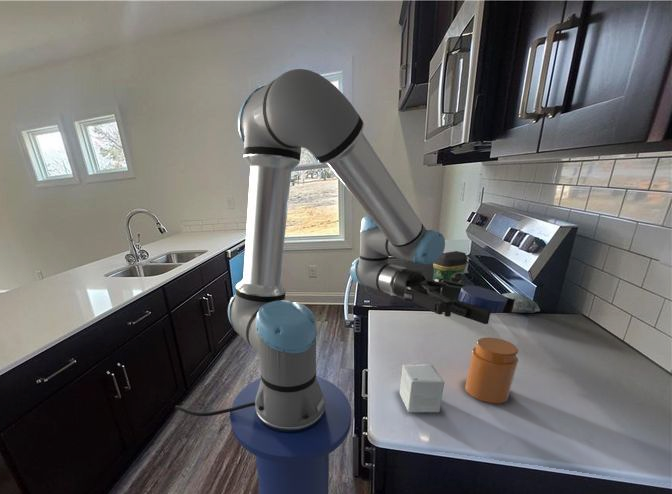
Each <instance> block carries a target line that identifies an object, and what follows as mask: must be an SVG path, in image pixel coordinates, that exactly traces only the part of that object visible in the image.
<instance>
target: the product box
mask: <svg viewBox="0 0 672 494" xmlns="http://www.w3.org/2000/svg"><path fill="white" fill-rule="evenodd" d="M401 367H402V368H401V378H400V386H399V395H400V397H401V400H402V402H403V404H404V405H405V408H406V410H407V412H408V413H440V410H441V405H442V398H443V392H444V388H445V387H444V386H445V380H444V379H443V378H442V376H441V375H440V373H439V372H438V371H437V369H436V368H435V366H434V365H433V364H431V363H430V364H403V365H402V366H401Z"/></svg>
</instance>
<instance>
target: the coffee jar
mask: <svg viewBox="0 0 672 494" xmlns="http://www.w3.org/2000/svg"><path fill="white" fill-rule="evenodd" d="M467 263H468V255H467V254H466V253H465V252H463V251H459V250H454V251H447V252H443V254H442V256H441V257H440V258H439V260H438V261H437V262H435V263H434V264H432V267H433V277H432V280H435V281H437V282H439V278H443V279H446V280H449V281H454V282H460V283H463V280H464V279H463V278H464V272H465V269H466V267H467ZM440 294H442V290H441V293H440ZM446 298H448V299H450V300H451V301H453V304H454V301H456V300H458V298H453V297H446ZM458 301H459V300H458ZM436 308H437V307H436Z"/></svg>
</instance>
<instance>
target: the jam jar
mask: <svg viewBox="0 0 672 494" xmlns="http://www.w3.org/2000/svg"><path fill="white" fill-rule="evenodd" d="M518 353H519V349H518V347H517V346H516V345H515V344H514V343H512V342H510V341H507V340H505V339H502V338H497V337H489V336H487V337H486V336H485V337H481V338H479V339H477V341H476V345H475V347H473V348H472V350H471V357H470V360H469V361H470V362H469V365H468V370H467V375H466V379H465V385H464V388H465V391H466V392H467V394H469V395H470V396H471V397H473V398H474V399H477V400H478V401H481V402H484V403H488V404H496V405H499V404H503V403H505V402H507V401H508V399H509V396H510V392H511V389H512V385H513V381H514V377H515V374H516V370H517V368H518V367H517V366H518V362H519V358H518V356H517V354H518Z"/></svg>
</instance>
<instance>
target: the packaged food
mask: <svg viewBox="0 0 672 494" xmlns="http://www.w3.org/2000/svg"><path fill="white" fill-rule="evenodd" d="M501 294H502V295H503V296H505V297H508V298H511V299H515V302H514V306H513V310H512V312H511V313H516V314H517V313H519V314H533V313H537V312H540V311H541V309H540V307H539V305H538V303H537V302H536V301H534V300H533V299H531V298H529V297H527V296H525V295H524V294H523V293H518V292H506V293H501Z"/></svg>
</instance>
